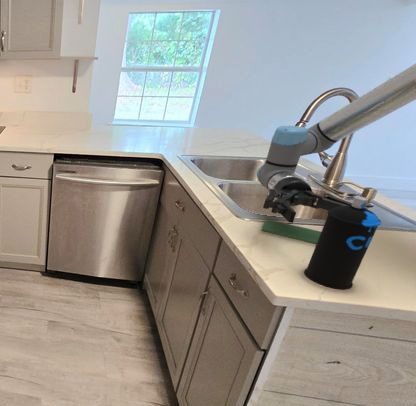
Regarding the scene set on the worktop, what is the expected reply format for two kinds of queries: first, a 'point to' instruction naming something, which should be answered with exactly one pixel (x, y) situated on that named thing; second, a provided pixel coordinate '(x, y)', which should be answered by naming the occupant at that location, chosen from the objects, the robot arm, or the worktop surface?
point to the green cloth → (291, 231)
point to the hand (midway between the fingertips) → (327, 221)
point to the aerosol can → (342, 244)
